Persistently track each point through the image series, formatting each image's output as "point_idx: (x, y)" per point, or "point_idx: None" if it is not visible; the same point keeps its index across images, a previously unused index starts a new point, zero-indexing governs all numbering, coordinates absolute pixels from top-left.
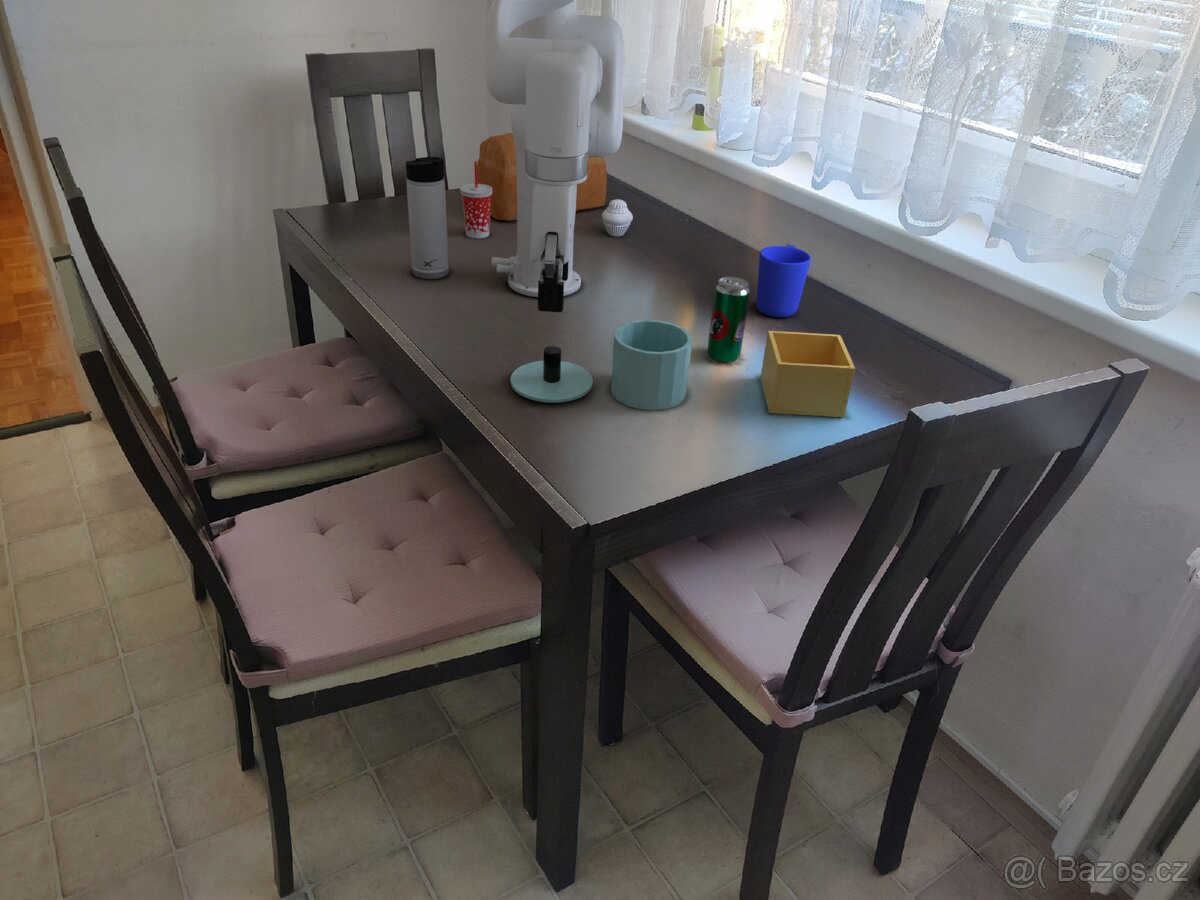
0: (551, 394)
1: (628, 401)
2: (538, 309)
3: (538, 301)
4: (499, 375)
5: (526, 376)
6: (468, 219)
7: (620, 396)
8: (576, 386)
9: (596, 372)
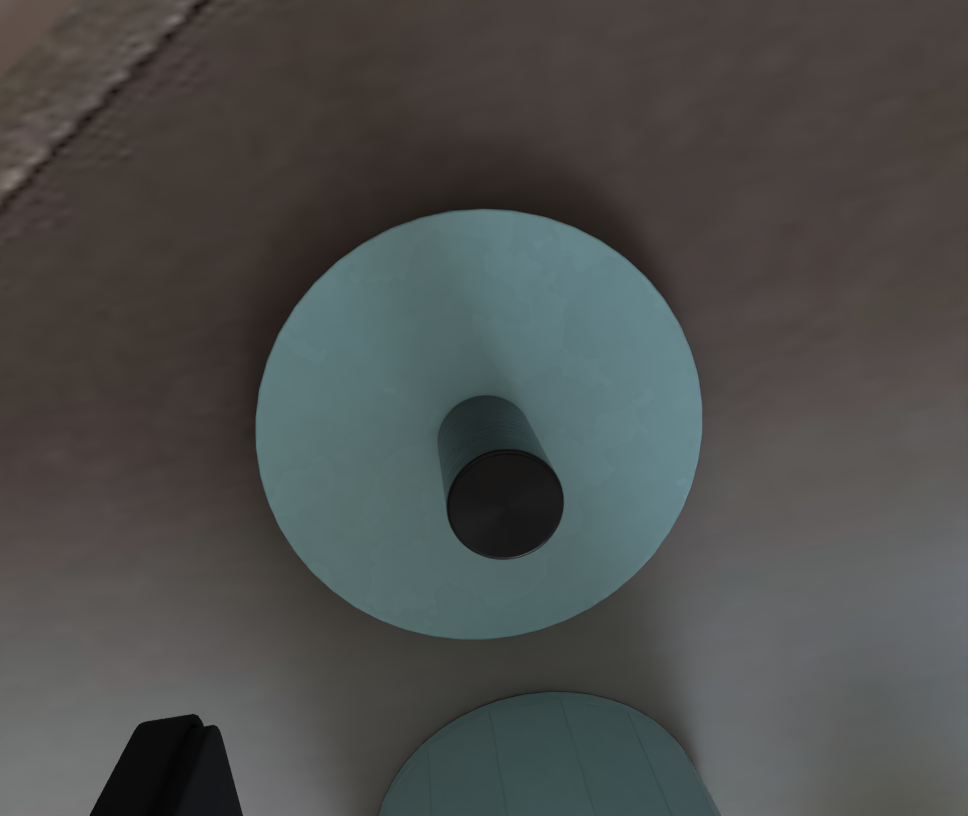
0: (315, 478)
1: (385, 807)
2: (142, 726)
3: (102, 804)
4: (529, 118)
5: (477, 300)
6: None
7: (411, 773)
8: (438, 576)
9: (674, 599)
